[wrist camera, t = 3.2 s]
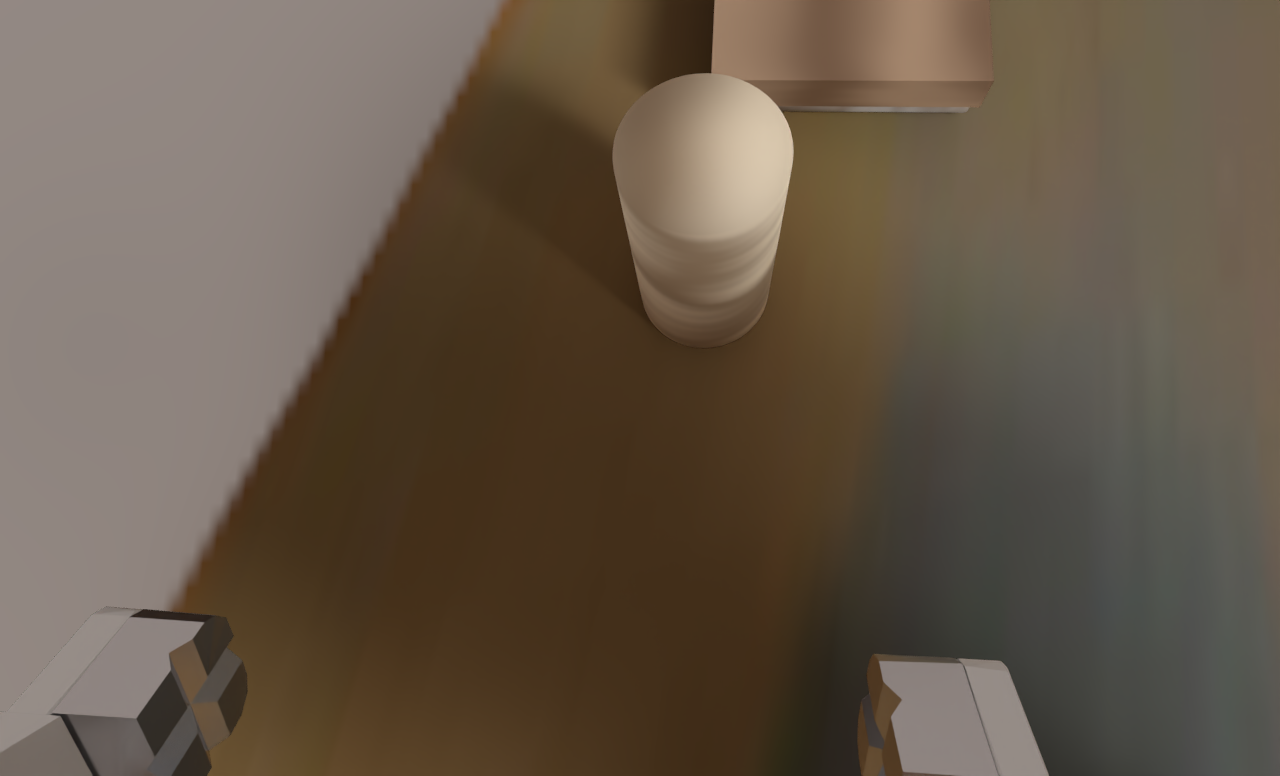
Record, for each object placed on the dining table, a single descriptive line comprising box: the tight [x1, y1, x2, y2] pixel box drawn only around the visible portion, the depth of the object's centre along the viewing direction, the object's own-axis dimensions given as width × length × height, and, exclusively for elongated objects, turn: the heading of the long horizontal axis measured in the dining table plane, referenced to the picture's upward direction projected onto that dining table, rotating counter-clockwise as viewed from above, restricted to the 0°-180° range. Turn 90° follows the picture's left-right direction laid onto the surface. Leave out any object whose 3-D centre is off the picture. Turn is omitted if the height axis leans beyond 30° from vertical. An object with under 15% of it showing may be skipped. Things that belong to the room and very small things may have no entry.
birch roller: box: [613, 73, 794, 348], centre depth 28 cm, size 5×5×10 cm
